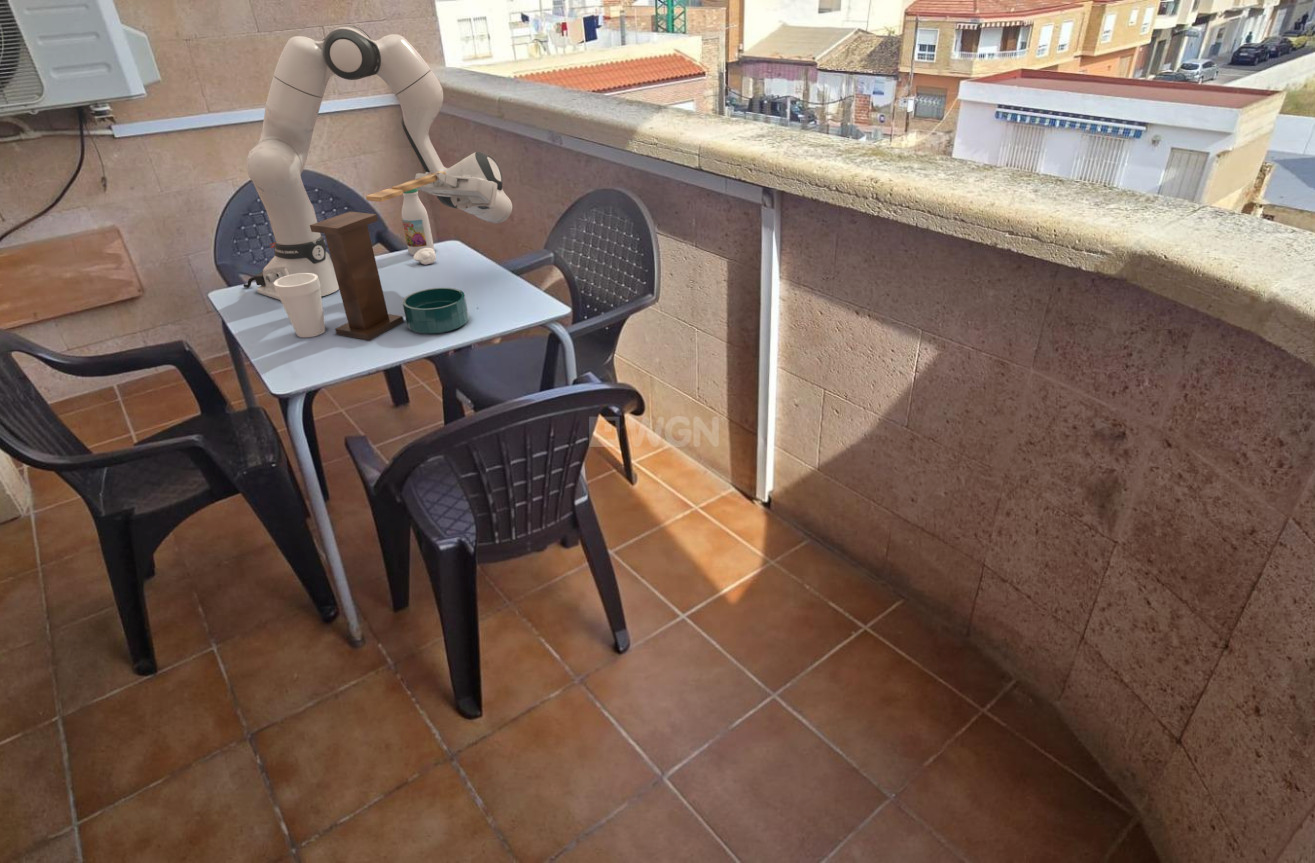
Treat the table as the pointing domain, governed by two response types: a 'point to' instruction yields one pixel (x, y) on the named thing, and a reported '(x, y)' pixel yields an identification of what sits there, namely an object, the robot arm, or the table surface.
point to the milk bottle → (415, 223)
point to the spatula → (402, 188)
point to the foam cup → (302, 302)
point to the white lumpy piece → (425, 256)
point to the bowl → (435, 310)
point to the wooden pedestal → (357, 275)
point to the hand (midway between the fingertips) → (432, 175)
